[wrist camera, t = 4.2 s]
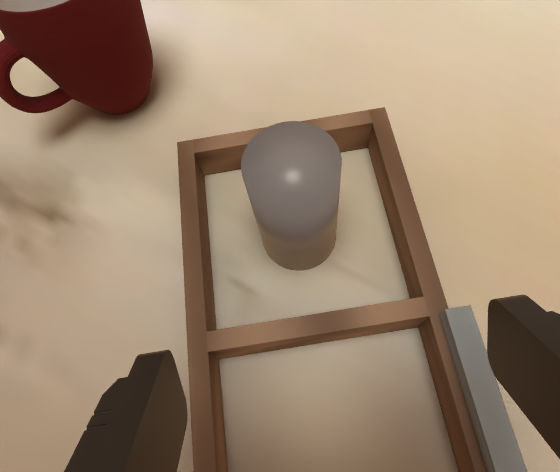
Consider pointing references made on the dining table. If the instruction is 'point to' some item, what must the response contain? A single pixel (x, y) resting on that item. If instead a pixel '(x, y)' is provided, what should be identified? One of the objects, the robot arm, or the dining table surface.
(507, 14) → the dining table surface
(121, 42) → the mug
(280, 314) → the dining table surface
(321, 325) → the divider rack
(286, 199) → the grey dome-topped cylinder
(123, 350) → the dining table surface
